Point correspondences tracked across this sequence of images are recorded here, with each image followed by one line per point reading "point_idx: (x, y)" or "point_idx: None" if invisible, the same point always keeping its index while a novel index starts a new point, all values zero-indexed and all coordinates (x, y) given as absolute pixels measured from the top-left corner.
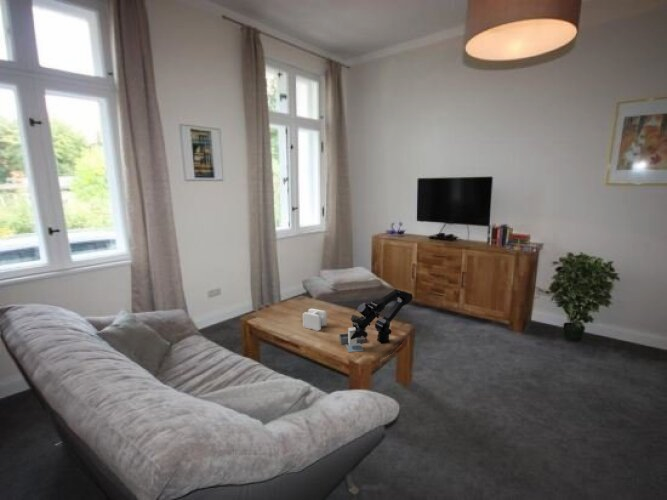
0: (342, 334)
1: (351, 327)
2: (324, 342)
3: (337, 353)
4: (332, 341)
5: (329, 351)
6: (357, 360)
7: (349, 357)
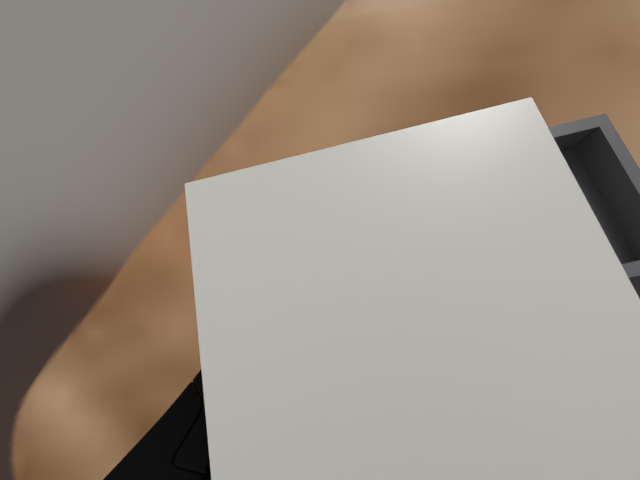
0: (617, 162)
1: (618, 265)
2: (453, 35)
3: (228, 172)
4: (490, 100)
5: (270, 99)
6: (58, 392)
7: (135, 298)
